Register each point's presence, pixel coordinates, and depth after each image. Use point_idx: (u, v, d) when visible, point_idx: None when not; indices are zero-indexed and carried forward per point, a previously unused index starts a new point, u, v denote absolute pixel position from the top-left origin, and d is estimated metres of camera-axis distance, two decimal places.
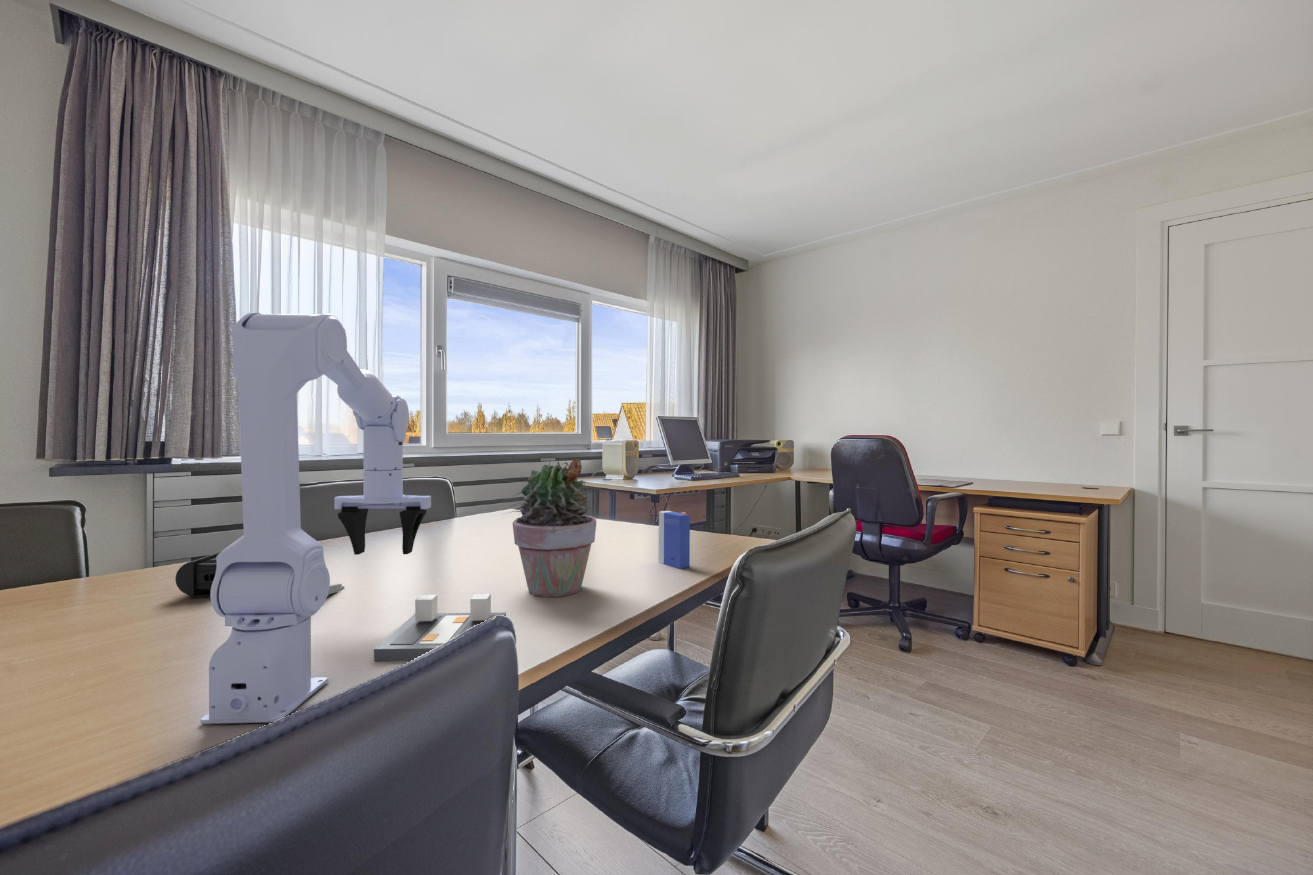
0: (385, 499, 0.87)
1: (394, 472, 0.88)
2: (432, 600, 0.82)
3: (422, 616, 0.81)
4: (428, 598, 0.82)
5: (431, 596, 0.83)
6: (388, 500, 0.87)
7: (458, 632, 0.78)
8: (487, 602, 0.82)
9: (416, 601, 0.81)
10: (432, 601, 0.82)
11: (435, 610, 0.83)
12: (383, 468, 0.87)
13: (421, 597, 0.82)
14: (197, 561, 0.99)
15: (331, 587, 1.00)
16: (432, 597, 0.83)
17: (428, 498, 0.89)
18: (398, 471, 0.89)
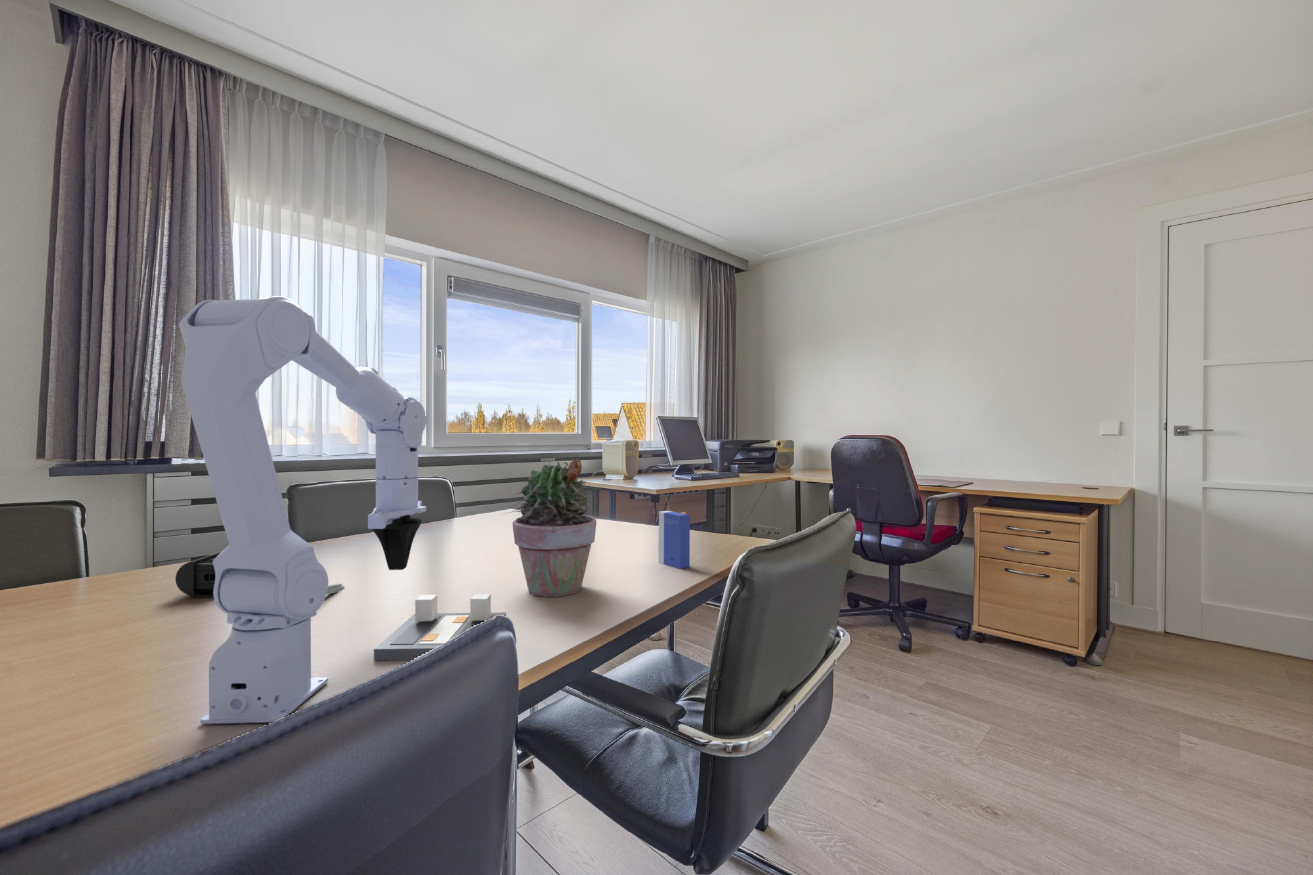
0: (374, 509, 0.81)
1: (379, 481, 0.80)
2: (432, 600, 0.82)
3: (422, 616, 0.81)
4: (428, 598, 0.82)
5: (431, 596, 0.83)
6: None
7: (458, 632, 0.78)
8: (487, 602, 0.82)
9: (416, 601, 0.81)
10: (432, 601, 0.82)
11: (435, 610, 0.83)
12: (392, 477, 0.79)
13: (421, 597, 0.82)
14: (197, 561, 0.99)
15: (331, 587, 1.00)
16: (432, 597, 0.83)
17: (371, 517, 0.75)
18: (383, 481, 0.79)
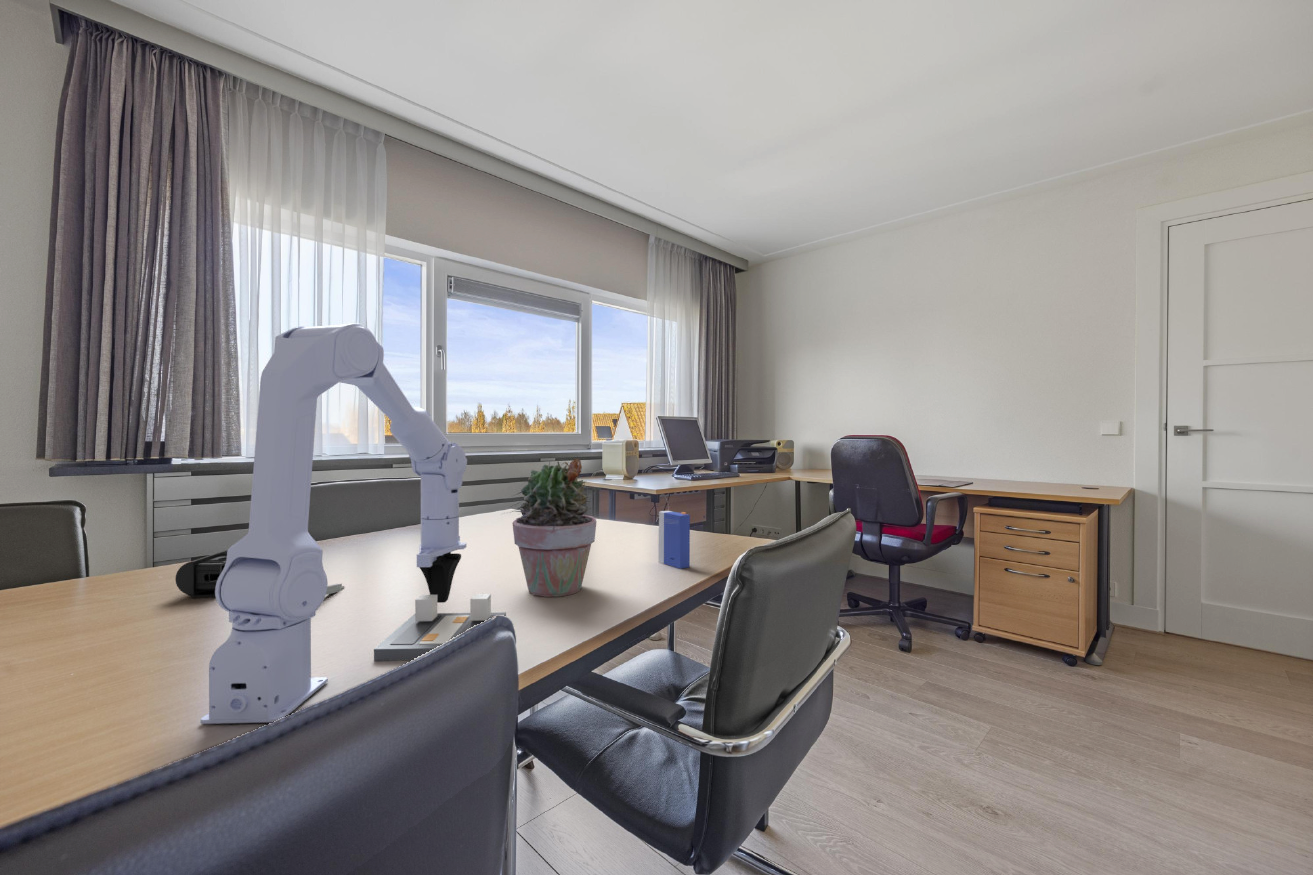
0: (419, 547, 0.87)
1: (424, 521, 0.86)
2: (432, 600, 0.82)
3: (422, 616, 0.81)
4: (428, 598, 0.82)
5: (431, 596, 0.83)
6: (419, 548, 0.87)
7: (458, 632, 0.78)
8: (487, 602, 0.82)
9: (416, 601, 0.81)
10: (432, 601, 0.82)
11: (435, 610, 0.83)
12: (435, 517, 0.86)
13: (421, 597, 0.82)
14: (197, 561, 0.99)
15: (331, 587, 1.00)
16: (432, 597, 0.83)
17: (420, 556, 0.81)
18: (429, 521, 0.86)
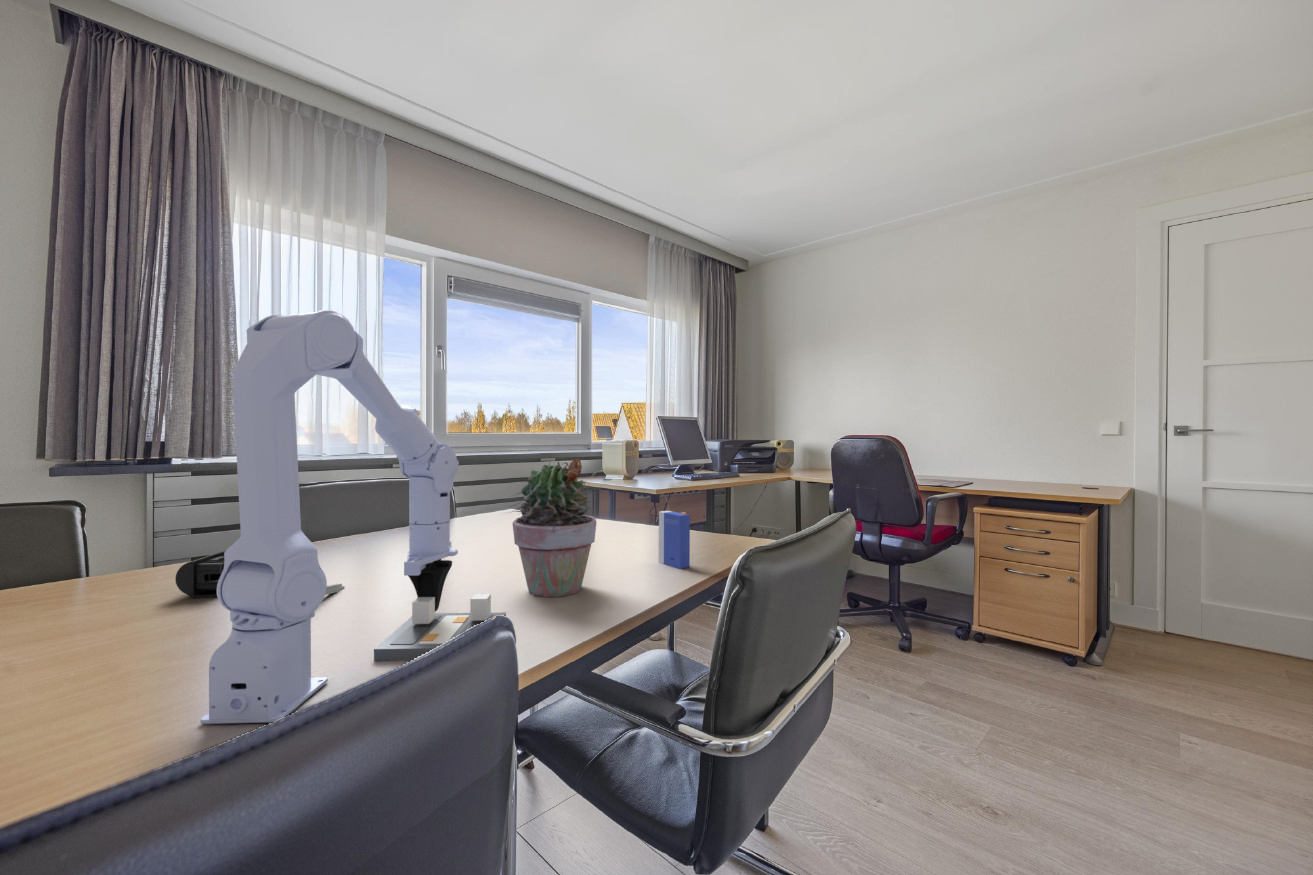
0: (408, 553, 0.82)
1: (413, 526, 0.81)
2: (429, 602, 0.81)
3: (419, 619, 0.80)
4: (425, 600, 0.81)
5: (428, 598, 0.82)
6: None
7: (458, 632, 0.78)
8: (487, 602, 0.82)
9: (413, 603, 0.80)
10: (429, 603, 0.80)
11: (432, 612, 0.82)
12: (422, 522, 0.81)
13: (419, 599, 0.81)
14: (197, 561, 0.99)
15: (331, 587, 1.00)
16: (429, 599, 0.81)
17: (407, 564, 0.77)
18: (417, 526, 0.81)
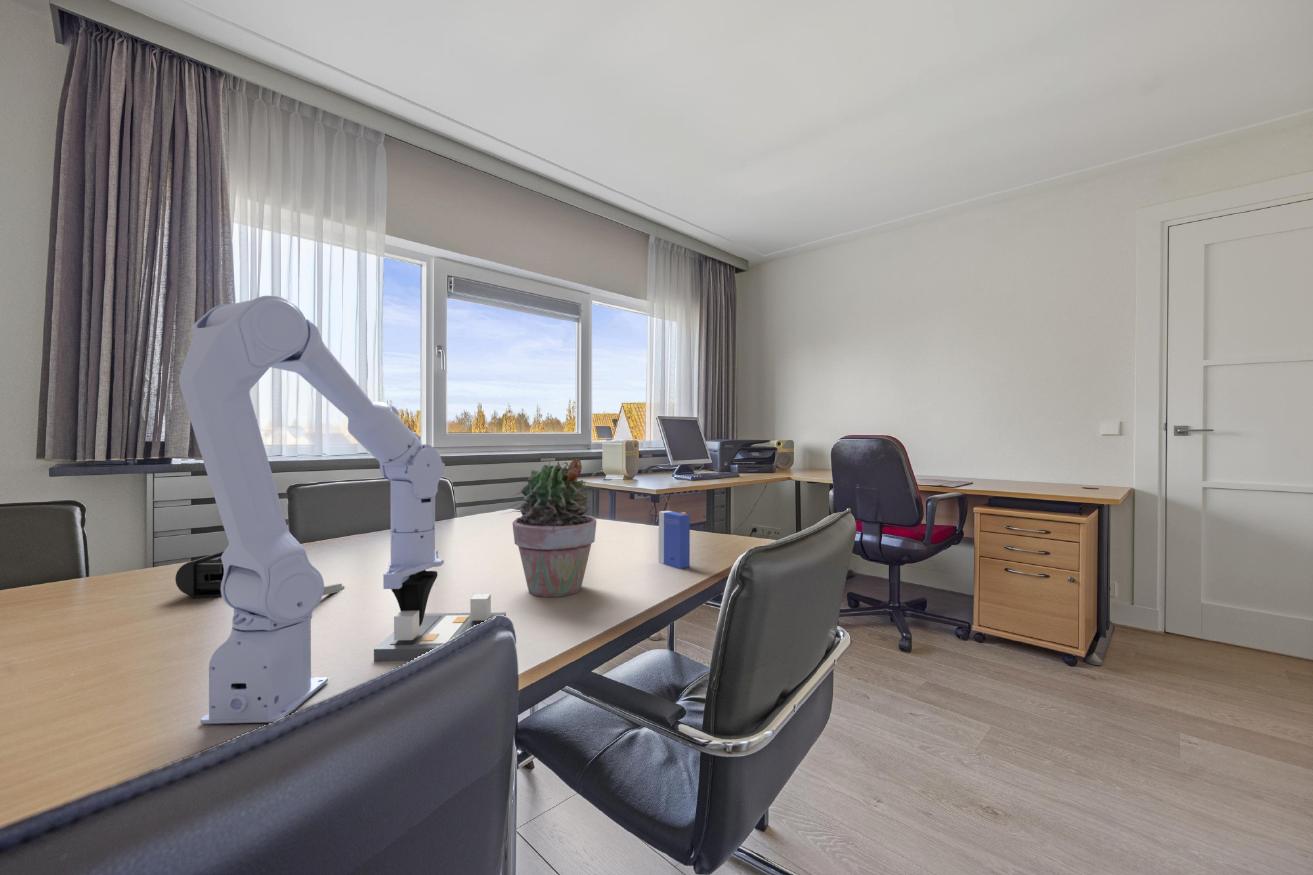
0: None
1: (394, 535, 0.75)
2: (413, 617, 0.74)
3: (402, 635, 0.74)
4: (408, 615, 0.75)
5: (412, 612, 0.76)
6: None
7: (458, 632, 0.78)
8: (487, 602, 0.82)
9: (395, 618, 0.74)
10: (412, 618, 0.74)
11: (416, 627, 0.76)
12: (402, 530, 0.75)
13: (401, 613, 0.75)
14: (197, 561, 0.99)
15: (331, 587, 1.00)
16: (413, 613, 0.75)
17: (387, 576, 0.70)
18: (399, 534, 0.75)
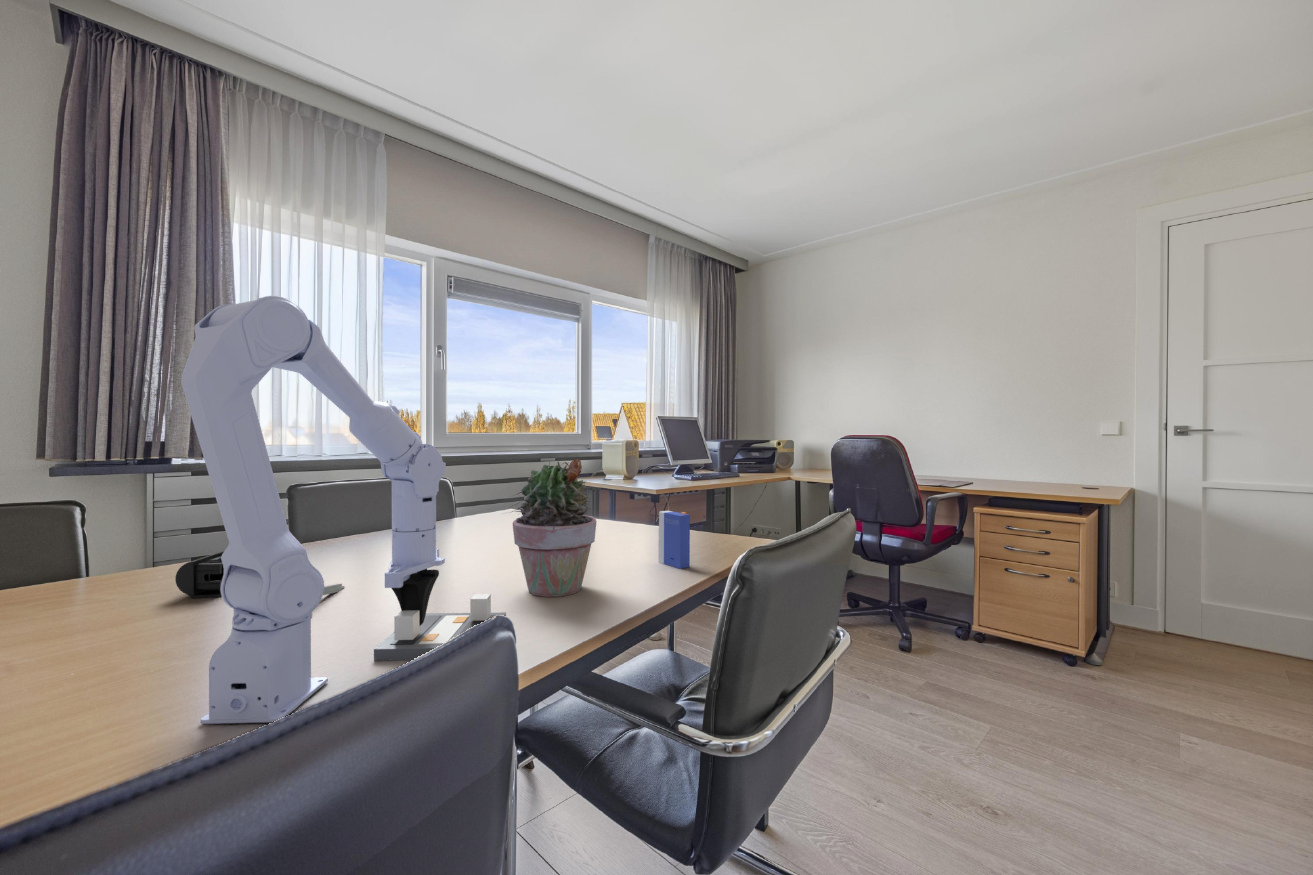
0: None
1: (396, 534, 0.75)
2: (413, 616, 0.74)
3: (402, 634, 0.74)
4: (409, 614, 0.75)
5: (412, 612, 0.76)
6: None
7: (458, 632, 0.78)
8: (487, 602, 0.82)
9: (395, 618, 0.74)
10: (412, 618, 0.74)
11: (416, 627, 0.76)
12: (403, 529, 0.75)
13: (402, 613, 0.75)
14: (197, 561, 0.99)
15: (331, 587, 1.00)
16: (413, 613, 0.75)
17: (388, 575, 0.70)
18: (400, 534, 0.75)
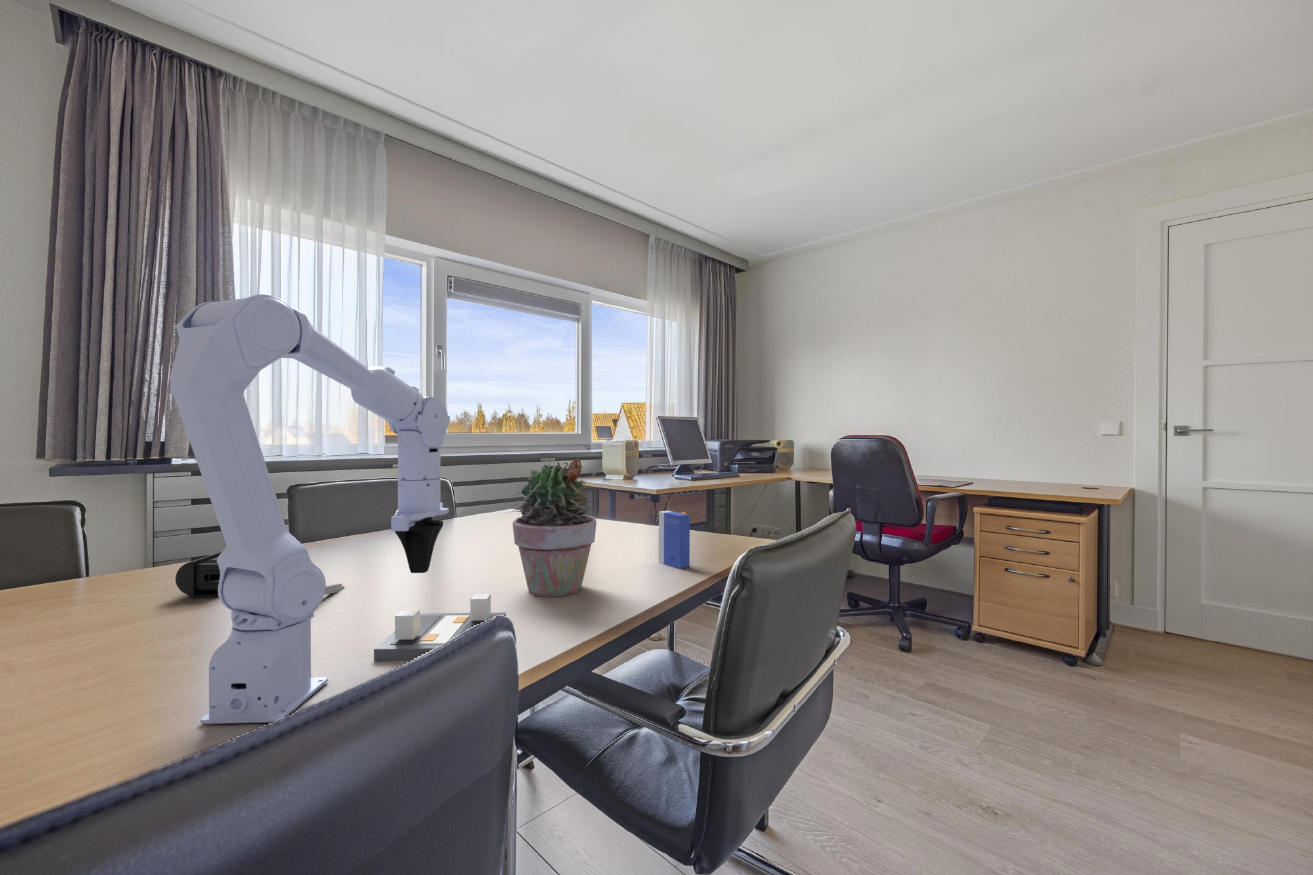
0: (396, 511, 0.79)
1: (402, 483, 0.78)
2: (413, 616, 0.75)
3: (402, 634, 0.74)
4: (409, 614, 0.75)
5: (413, 612, 0.76)
6: None
7: (458, 632, 0.78)
8: (487, 602, 0.82)
9: (396, 617, 0.74)
10: (413, 617, 0.74)
11: (417, 627, 0.76)
12: (410, 478, 0.78)
13: (402, 613, 0.75)
14: (197, 561, 0.99)
15: (331, 587, 1.00)
16: (414, 613, 0.75)
17: (395, 519, 0.73)
18: (406, 482, 0.78)
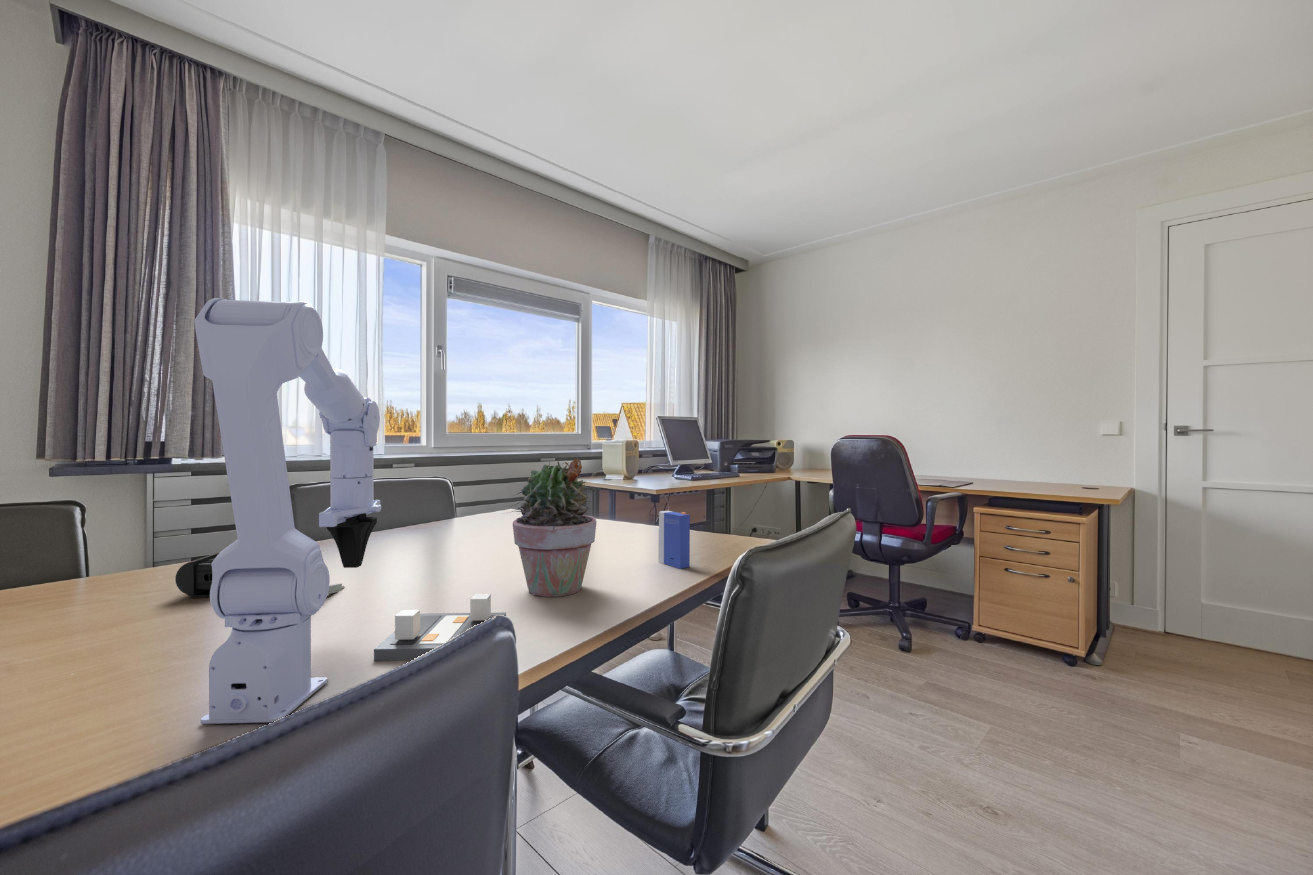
0: (329, 508, 0.82)
1: (333, 480, 0.81)
2: (413, 616, 0.75)
3: (402, 634, 0.74)
4: (409, 614, 0.75)
5: (413, 612, 0.76)
6: (328, 509, 0.81)
7: (458, 632, 0.78)
8: (487, 602, 0.82)
9: (396, 617, 0.74)
10: (413, 617, 0.74)
11: (417, 627, 0.76)
12: (353, 476, 0.81)
13: (402, 613, 0.75)
14: (197, 561, 0.99)
15: (331, 587, 1.00)
16: (414, 613, 0.75)
17: (322, 515, 0.76)
18: (337, 480, 0.81)
